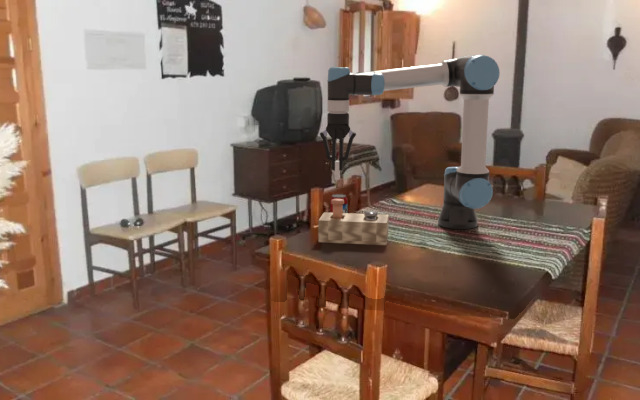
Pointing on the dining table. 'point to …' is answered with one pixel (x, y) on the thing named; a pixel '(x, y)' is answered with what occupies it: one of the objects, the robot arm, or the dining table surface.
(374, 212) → the grey plug
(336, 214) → the terracotta plug
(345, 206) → the beverage can
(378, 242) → the block
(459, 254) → the dining table surface
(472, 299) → the dining table surface
